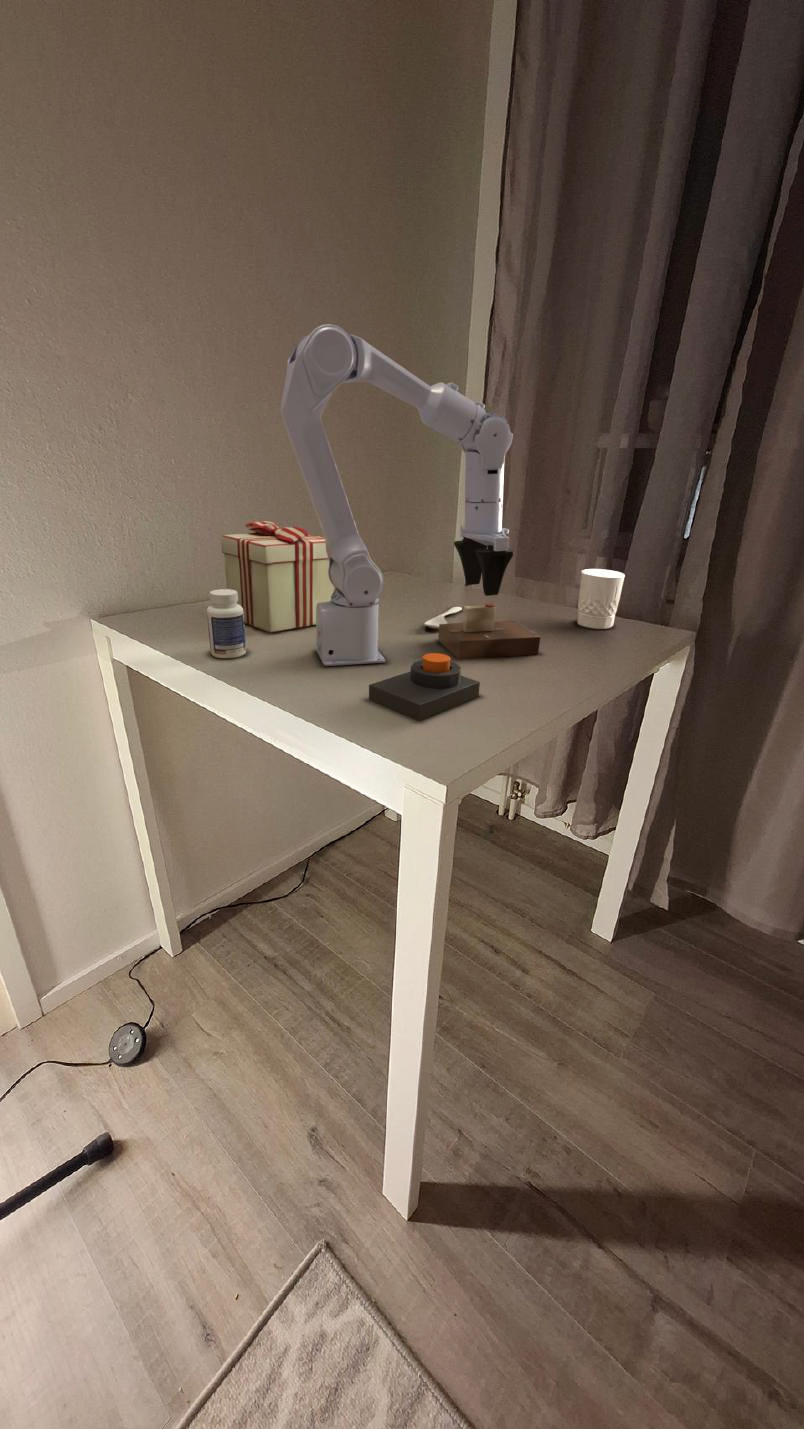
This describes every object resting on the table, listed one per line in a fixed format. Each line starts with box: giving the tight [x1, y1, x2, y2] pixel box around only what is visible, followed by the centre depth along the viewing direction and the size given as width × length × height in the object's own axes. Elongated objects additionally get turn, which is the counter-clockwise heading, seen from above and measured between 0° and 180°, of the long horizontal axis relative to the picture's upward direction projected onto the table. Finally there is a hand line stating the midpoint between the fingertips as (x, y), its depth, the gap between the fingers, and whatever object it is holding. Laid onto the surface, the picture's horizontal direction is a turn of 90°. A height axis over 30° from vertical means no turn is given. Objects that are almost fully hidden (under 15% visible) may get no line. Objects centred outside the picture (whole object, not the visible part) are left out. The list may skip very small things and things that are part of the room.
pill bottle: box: [206, 588, 247, 659], centre depth 94 cm, size 5×5×10 cm
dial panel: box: [437, 620, 541, 660], centre depth 103 cm, size 14×10×3 cm
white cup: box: [576, 568, 626, 630], centre depth 118 cm, size 8×8×10 cm
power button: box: [422, 652, 451, 673], centre depth 81 cm, size 4×4×2 cm
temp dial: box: [461, 603, 496, 632], centre depth 101 cm, size 5×2×4 cm, turn 106°
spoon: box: [423, 606, 463, 630], centre depth 119 cm, size 4×21×2 cm, turn 161°
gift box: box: [220, 520, 335, 633], centre depth 113 cm, size 17×18×17 cm
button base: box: [368, 659, 481, 722], centre depth 81 cm, size 12×9×4 cm
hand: (481, 589), depth 99 cm, fingers open, 7 cm apart
